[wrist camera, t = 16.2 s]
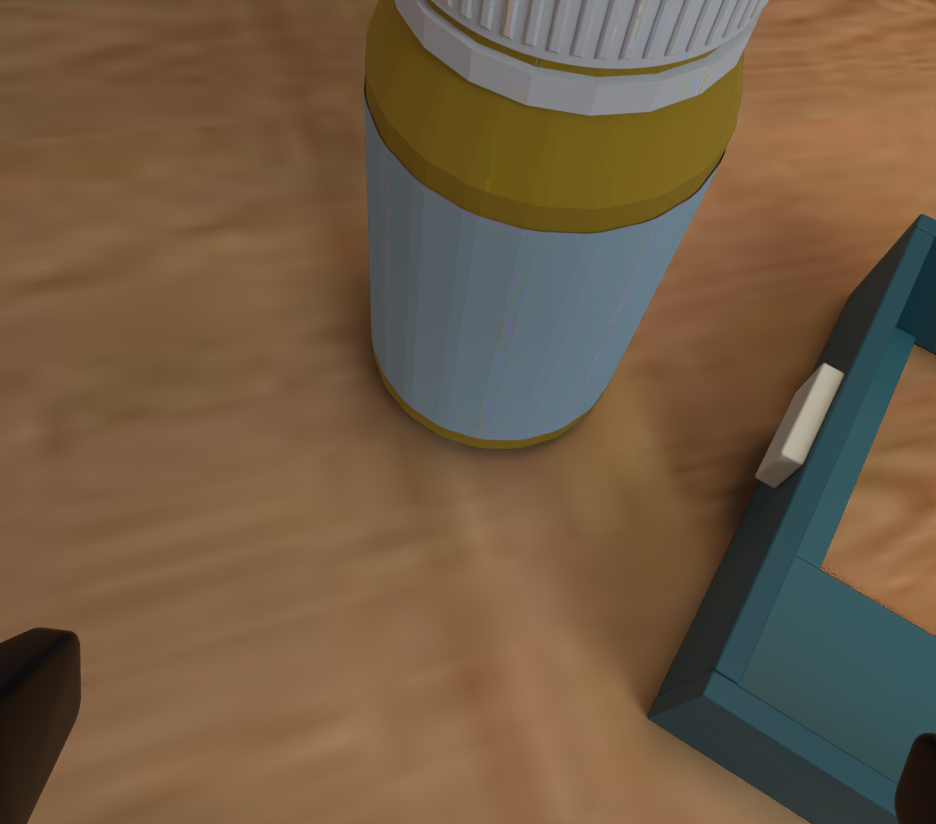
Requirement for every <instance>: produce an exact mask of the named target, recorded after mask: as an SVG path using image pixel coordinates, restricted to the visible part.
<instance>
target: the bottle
mask: <svg viewBox="0 0 936 824" xmlns="http://www.w3.org/2000/svg"><path fill="white" fill-rule="evenodd" d="M768 1H769V0H379V1H378V3H377V6H376V8H375V11H374V13H373V16H372V18H371V21H370V24H369V27H368V31H367V35H366V56H365V85H364V101H365V135H366V168H367V202H368V236H369V270H370V303H371V336H372V343H373V352H374V358H375V361H376V363H377V366H378V369H379V372H380V375H381V378H382V381H383V383H384V384H385V386H386V388H387V390H388V391H389V392H390V393H391V395H392V396H393V397H394V399H395V400H396V401H397V402H398V404H399V405H400V406H401V407H402V409H403V410H404V411H405V412H406V413H407V414H408V415H409V416H411V417H412V418H413V419H415V420H416V421H418V422H419V423H421V424H422V425H424V426H425V427H427V428H428V429H430V430H431V431H433V432H434V433H436V434H438V435H440V436H442V437H444V438H447V439H450V440H453V441H457V442H460V443H463V444H466V445H469V446H473V447H478V448H493V449H515V448H523V447H527V446H530V445H534V444H537V443H541V442H544V441H548V440H551V439H553V438H555V437H557V436H559V435H561V434H562V433H564V432H565V431H567V430H568V429H570V428H571V427H573V426H574V425H576V424H577V423H578V422H580V421H581V420H582V419H583V418H584V417H585V416H586V415H588V413H589V412H590V411H591V409H592V408H593V406H594V405H595V404H596V402H597V401H598V399H599V398H600V396H601V395H602V394H603V392H604V390H605V388H606V387H607V386H608V384H609V382H610V380H611V378H612V376H613V374H614V372H615V371H616V369H617V367H618V365H619V363H620V361H621V359H622V357H623V355H624V353H625V351H626V349H627V347H628V345H629V343H630V341H631V339H632V337H633V335H634V333H635V331H636V329H637V327H638V325H639V323H640V321H641V319H642V317H643V315H644V313H645V311H646V309H647V307H648V305H649V303H650V301H651V299H652V297H653V295H654V293H655V291H656V289H657V287H658V285H659V283H660V281H661V279H662V277H663V275H664V273H665V271H666V269H667V267H668V265H669V263H670V261H671V259H672V258H673V256H674V254H675V252H676V250H677V248H678V246H679V244H680V242H681V240H682V238H683V236H684V234H685V232H686V230H687V228H688V226H689V224H690V222H691V220H692V218H693V216H694V214H695V212H696V210H697V208H698V206H699V204H700V202H701V200H702V198H703V196H704V194H705V192H706V190H707V188H708V186H709V184H710V182H711V180H712V178H713V176H714V174H715V172H716V170H717V168H718V166H719V164H720V162H721V160H722V158H723V156H724V153H725V150H726V146H727V144H728V142H729V140H730V138H731V136H732V134H733V132H734V130H735V127H736V122H737V117H738V112H739V107H740V103H741V97H742V79H743V61H744V48H745V46H746V43H747V41H748V39H749V37H750V35H751V33H752V31H753V29H754V27H755V25H756V22H757V20H758V18H759V16H760V14H761V12H762V9H763V7H764V6H765V5H766V4H767V3H768Z"/></svg>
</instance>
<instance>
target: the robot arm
mask: <svg viewBox="0 0 936 824" xmlns="http://www.w3.org/2000/svg"><path fill="white" fill-rule="evenodd" d="M80 701H81V673H80V642H79V639H78V636H77V635H76V634H75V633H74V632H72V631H67V630H58V629H50V628H41V627H39V628H34V629H31V630H29V631H26V632H24V633H22V634H19V635H17V636H15V637H13V638H10V639H8V640H6V641H4V642H1V643H0V824H27V822H28V820H29V818H30V816H31V814H32V812H33V810H34V808H35V806H36V803H37V801H38V799H39V797H40V795H41V793H42V791H43V789H44V787H45V784H46V782H47V780H48V778H49V776H50V774H51V772H52V770H53V768H54V766H55V763H56V761H57V759H58V757H59V755H60V753H61V751H62V749H63V747H64V744H65V742H66V740H67V738H68V736H69V734H70V732H71V730H72V728H73V725H74V723H75V721H76V718H77V715H78V712H79V708H80ZM894 807H895V813H896V817H897V821H898V823H899V824H936V733H929V732H926V733H922V734H920V735H918V736H917V738H916V739H915V740H914V742H913V744H912V747H911V749H910V752H909V755H908V758H907V760H906V763H905V766H904V769H903V771H902V774H901V777H900V780H899V783H898V785H897V788H896V792H895V798H894Z"/></svg>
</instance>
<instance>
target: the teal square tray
mask: <svg viewBox="0 0 936 824" xmlns="http://www.w3.org/2000/svg"><path fill="white" fill-rule="evenodd" d="M914 343H916V344H918V345H920V346H922V347H923V348H925V349H927V350H929V351H931V352H933V353H935V354H936V220H934V219H932V218H930V217H928V216H926V215H924V214H921V215H919V217H918V218H917V219H916V220H915V221H914V222H913V223H912V225H911V226H910V227H909V228H908V229H907V230H906V232H905V233H904V234H903V235H902V236H901V237H900V238H899V240H898V241H897V242H896V243H895V244H894V245H893V246H892V248H891V249H890V250H889V251H888V252H887V253H886V254H885V256H884V257H883V258H882V259H881V260H880V261H879V262H878V264H877V265H876V266H875V267H874V268H873V269H872V270H871V272H870V273H869V274H868V275H867V276H866V277H865V278H864V280H863V281H862V282H861V283H860V284H859V285H858V287H857V288H856V289H855V290H854V291H853V292H852V293H851V295H850V297H849V299H848V301H847V303H846V306H845V307H844V309H843V311H842V313H841V315H840V317H839V319H838V321H837V324H836V326H835V328H834V330H833V332H832V334H831V336H830V338H829V340H828V342H827V344H826V346H825V348H824V350H823V353H822V355H821V357H820V359H819V361H818V363H817V365H816V367H815V369H814V371H813V373H812V375H811V376H810V378H809V379H808V380H807V381H806V382H805V383H804V384H803V385H802V386H801V387H800V388H799V389H798V390H797V391H796V393H795V395H794V397H793V399H792V401H791V403H790V405H789V407H788V409H787V411H786V413H785V415H784V418H783V420H782V422H781V424H780V426H779V428H778V430H777V432H776V434H775V436H774V438H773V440H772V442H771V444H770V446H769V448H768V450H767V452H766V454H765V457H764V459H763V461H762V463H761V465H760V467H759V469H758V471H757V473H756V478H757V479H759V480H760V483H759V485H758V488H757V490H756V492H755V494H754V496H753V498H752V500H751V502H750V504H749V506H748V508H747V510H746V512H745V514H744V517H743V519H742V521H741V523H740V525H739V527H738V529H737V531H736V533H735V535H734V537H733V539H732V541H731V544H730V546H729V548H728V550H727V552H726V554H725V556H724V558H723V560H722V562H721V564H720V566H719V568H718V571H717V573H716V575H715V577H714V579H713V581H712V583H711V585H710V587H709V589H708V591H707V593H706V595H705V598H704V600H703V602H702V604H701V606H700V608H699V610H698V612H697V614H696V616H695V618H694V620H693V622H692V625H691V627H690V629H689V631H688V633H687V635H686V637H685V639H684V641H683V643H682V645H681V647H680V649H679V652H678V654H677V656H676V658H675V660H674V662H673V664H672V666H671V668H670V670H669V672H668V674H667V676H666V678H665V681H664V683H663V685H662V687H661V689H660V691H659V693H658V697H656V699H655V701H654V703H653V705H652V707H651V709H650V711H649V713H648V716H647V718H648V719H649V720H651V721H653V722H654V723H656V724H657V725H659V726H660V727H662V728H664V729H665V730H667V731H668V732H670V733H671V734H673V735H674V736H676V737H678V738H679V739H681V740H682V741H684V742H685V743H687V744H689V745H690V746H692V747H693V748H695V749H696V750H698V751H699V752H701V753H703V754H704V755H706V756H707V757H709V758H710V759H712V760H714V761H715V762H717V763H718V764H720V765H721V766H723V767H724V768H726V769H728V770H729V771H731V772H732V773H734V774H735V775H737V776H739V777H740V778H742V779H743V780H745V781H746V782H748V783H749V784H751V785H753V786H754V787H756V788H757V789H759V790H760V791H762V792H764V793H765V794H767V795H768V796H770V797H771V798H773V799H774V800H776V801H778V802H779V803H781V804H782V805H784V806H785V807H787V808H789V809H790V810H792V811H793V812H795V813H796V814H798V815H799V816H801V817H803V818H804V819H806V820H807V821H809V822H810V823H812V824H899V823H898V821H897V817H896V813H895V807H894V798H895V792H896V788H897V785H898V783H899V780H900V777H901V774H902V771H903V769H904V766H905V763H906V760H907V758H908V755H909V752H910V749H911V747H912V744H913V742H914V740H915V739H916V738H917V736H918V735H920V734H922V733H926V732H929V733H936V637H935V636H933V635H931V634H930V633H928V632H926V631H924V630H923V629H921V628H919V627H918V626H916V625H914V624H912V623H911V622H909V621H907V620H906V619H904V618H902V617H900V616H899V615H897V614H895V613H893V612H892V611H890V610H888V609H887V608H885V607H883V606H881V605H880V604H878V603H876V602H875V601H873V600H871V599H869V598H868V597H866V596H864V595H863V594H861V593H859V592H857V591H856V590H854V589H852V588H851V587H849V586H847V585H845V584H844V583H842V582H840V581H838V580H837V579H835V578H833V577H832V576H830V575H828V574H826V573H825V572H823V571H821V570H820V567H821V565H822V562H823V560H824V558H825V555H826V553H827V550H828V548H829V546H830V543H831V541H832V539H833V536H834V534H835V531H836V529H837V527H838V524H839V522H840V519H841V517H842V515H843V512H844V510H845V507H846V505H847V503H848V500H849V498H850V495H851V493H852V491H853V488H854V486H855V484H856V481H857V479H858V476H859V474H860V472H861V469H862V467H863V464H864V462H865V460H866V457H867V455H868V452H869V450H870V448H871V445H872V443H873V440H874V438H875V436H876V433H877V431H878V429H879V426H880V424H881V421H882V419H883V417H884V414H885V412H886V409H887V407H888V405H889V402H890V400H891V397H892V395H893V393H894V390H895V388H896V385H897V383H898V381H899V378H900V376H901V374H902V371H903V369H904V366H905V364H906V362H907V359H908V357H909V354H910V352H911V350H912V347H913V345H914Z"/></svg>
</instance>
